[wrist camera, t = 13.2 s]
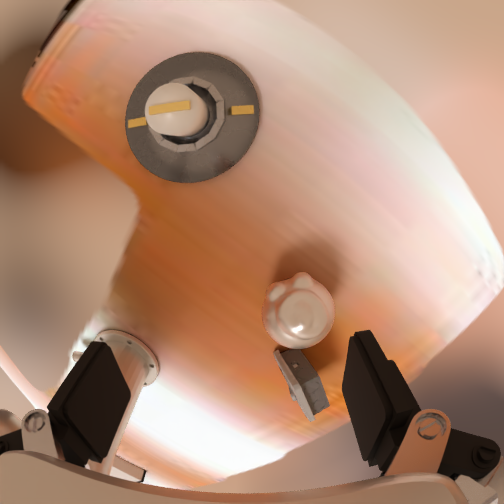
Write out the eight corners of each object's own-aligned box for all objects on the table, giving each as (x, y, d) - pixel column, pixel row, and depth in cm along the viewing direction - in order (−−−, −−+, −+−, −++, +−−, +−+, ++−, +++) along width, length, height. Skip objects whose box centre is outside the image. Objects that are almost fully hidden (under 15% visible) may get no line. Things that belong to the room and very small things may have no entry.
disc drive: (127, 476, 67) (123, 486, 62) (72, 444, 62) (67, 454, 57) (146, 470, 62) (143, 482, 57) (83, 434, 57) (77, 446, 52)
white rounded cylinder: (167, 98, 28) (142, 86, 21) (209, 93, 28) (195, 77, 20) (168, 139, 29) (143, 137, 22) (211, 135, 29) (197, 131, 22)
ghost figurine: (338, 270, 36) (362, 310, 26) (312, 327, 39) (324, 375, 30) (273, 251, 35) (278, 289, 26) (251, 313, 38) (250, 362, 29)
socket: (133, 187, 32) (124, 190, 30) (128, 67, 27) (120, 63, 24) (261, 178, 32) (261, 180, 30) (256, 49, 26) (256, 42, 24)
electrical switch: (271, 348, 41) (280, 392, 32) (304, 336, 40) (319, 378, 32) (289, 385, 44) (299, 427, 35) (318, 375, 43) (333, 415, 35)
